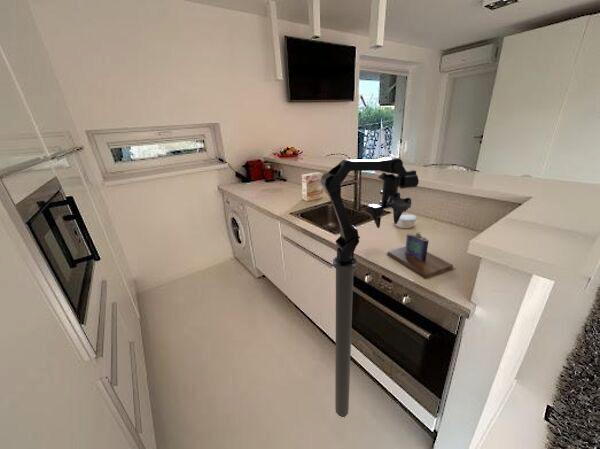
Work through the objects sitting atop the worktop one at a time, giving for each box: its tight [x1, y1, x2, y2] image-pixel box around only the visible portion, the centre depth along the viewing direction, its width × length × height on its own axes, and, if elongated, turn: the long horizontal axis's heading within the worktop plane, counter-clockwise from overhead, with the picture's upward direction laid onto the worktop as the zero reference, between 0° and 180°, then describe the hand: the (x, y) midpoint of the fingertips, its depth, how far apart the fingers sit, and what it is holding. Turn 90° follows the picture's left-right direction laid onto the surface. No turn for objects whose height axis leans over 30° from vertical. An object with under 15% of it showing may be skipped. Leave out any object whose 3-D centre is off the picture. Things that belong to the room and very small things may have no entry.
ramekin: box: [395, 212, 417, 229], centre depth 134 cm, size 11×11×5 cm
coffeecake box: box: [301, 171, 324, 202], centre depth 189 cm, size 15×7×20 cm, turn 120°
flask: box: [404, 231, 429, 261], centre depth 99 cm, size 9×3×11 cm, turn 31°
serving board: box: [387, 245, 454, 279], centre depth 100 cm, size 14×20×2 cm
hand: (386, 225), depth 103 cm, fingers open, 9 cm apart
